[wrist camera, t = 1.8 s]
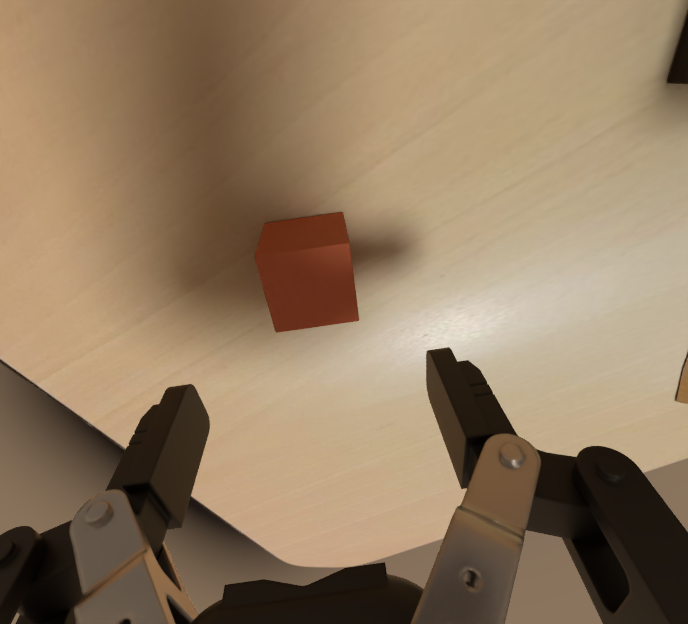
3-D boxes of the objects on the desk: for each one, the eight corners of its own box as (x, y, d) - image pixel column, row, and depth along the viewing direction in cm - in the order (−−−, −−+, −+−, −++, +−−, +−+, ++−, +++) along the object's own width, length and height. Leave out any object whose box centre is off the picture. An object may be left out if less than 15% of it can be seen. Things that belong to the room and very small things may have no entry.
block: (264, 222, 20) (253, 256, 17) (342, 211, 20) (349, 242, 17) (281, 290, 23) (275, 333, 19) (351, 280, 23) (359, 321, 19)
